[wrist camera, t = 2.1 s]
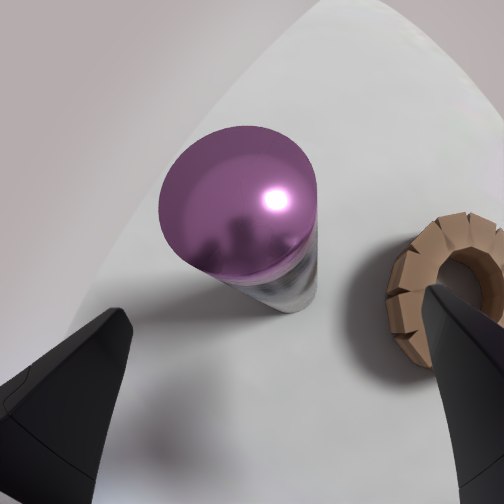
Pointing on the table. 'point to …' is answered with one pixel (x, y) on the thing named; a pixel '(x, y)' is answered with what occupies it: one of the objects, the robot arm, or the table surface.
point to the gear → (426, 270)
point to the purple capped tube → (246, 214)
